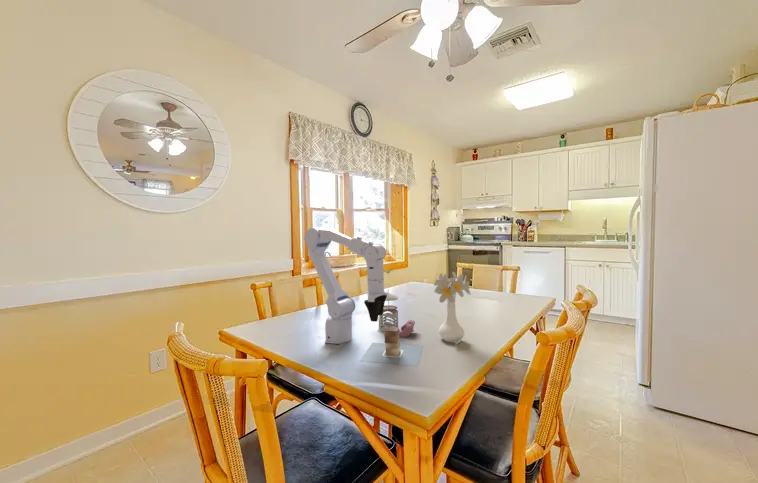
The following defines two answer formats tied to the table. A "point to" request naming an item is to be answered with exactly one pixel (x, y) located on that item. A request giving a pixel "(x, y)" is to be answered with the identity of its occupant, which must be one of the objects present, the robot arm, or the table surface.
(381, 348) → the board
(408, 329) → the video game controller
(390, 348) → the birch block
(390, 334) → the walnut block
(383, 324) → the french press
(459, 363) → the table surface
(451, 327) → the flower vase
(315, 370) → the table surface
